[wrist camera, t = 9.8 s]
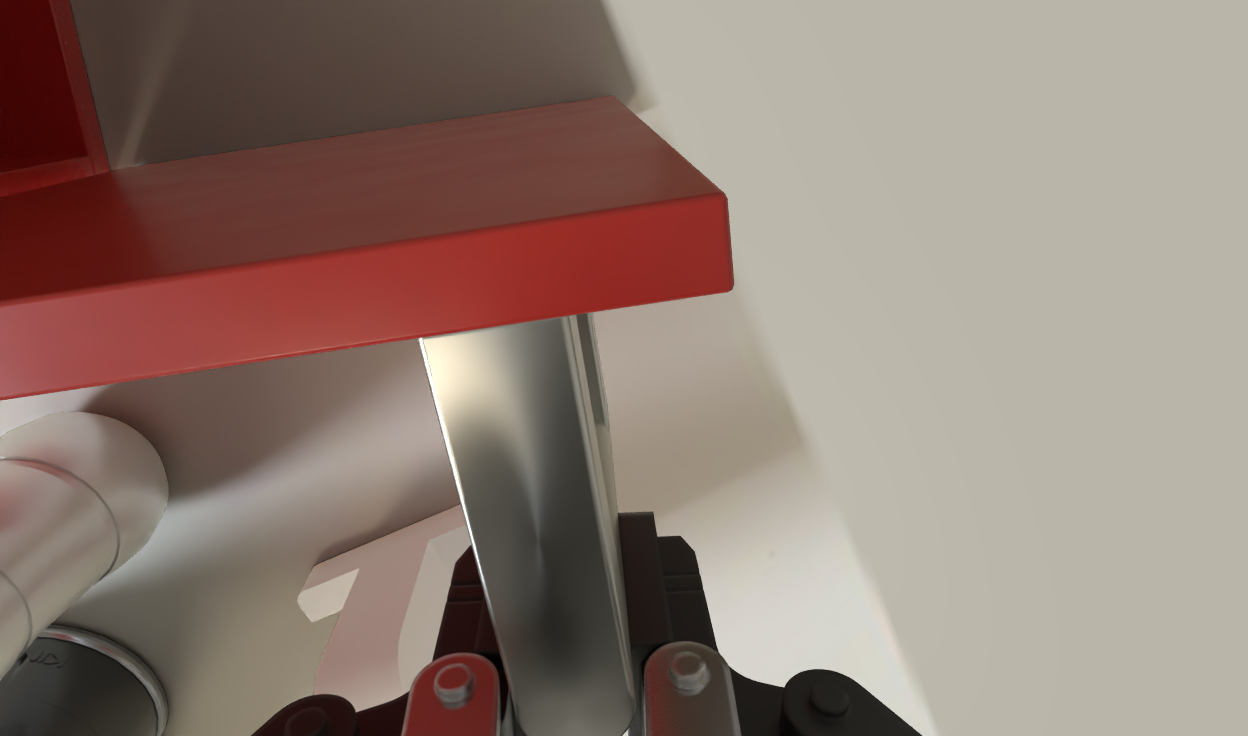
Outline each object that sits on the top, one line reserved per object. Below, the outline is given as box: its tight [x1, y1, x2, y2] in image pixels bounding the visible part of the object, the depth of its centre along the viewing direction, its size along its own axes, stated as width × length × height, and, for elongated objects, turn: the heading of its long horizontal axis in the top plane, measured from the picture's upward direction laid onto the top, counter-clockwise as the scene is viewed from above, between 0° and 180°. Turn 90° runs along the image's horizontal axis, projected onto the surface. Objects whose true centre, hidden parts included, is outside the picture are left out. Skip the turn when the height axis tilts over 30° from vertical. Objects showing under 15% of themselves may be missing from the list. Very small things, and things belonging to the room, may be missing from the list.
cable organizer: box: [297, 504, 471, 712], centre depth 30 cm, size 5×10×10 cm, turn 114°
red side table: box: [0, 96, 734, 736], centre depth 18 cm, size 7×18×22 cm, turn 98°
